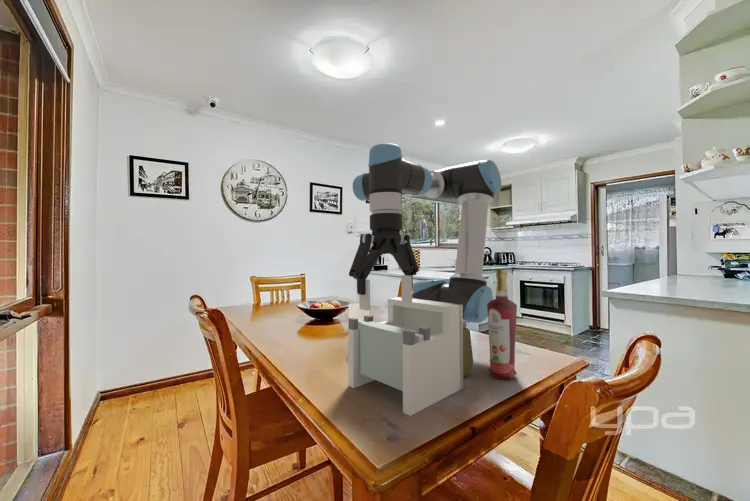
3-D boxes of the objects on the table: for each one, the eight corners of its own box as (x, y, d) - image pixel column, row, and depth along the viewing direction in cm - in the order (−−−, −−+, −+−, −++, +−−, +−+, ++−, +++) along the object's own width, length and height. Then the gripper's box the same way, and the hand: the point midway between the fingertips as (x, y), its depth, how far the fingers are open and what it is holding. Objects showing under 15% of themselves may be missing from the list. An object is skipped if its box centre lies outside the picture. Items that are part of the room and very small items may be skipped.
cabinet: (401, 366, 91) (401, 296, 91) (463, 388, 77) (462, 304, 77) (348, 385, 78) (348, 304, 78) (410, 416, 63) (409, 315, 64)
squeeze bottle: (436, 370, 88) (436, 305, 88) (460, 366, 91) (459, 303, 91) (454, 381, 80) (454, 310, 81) (480, 376, 84) (479, 308, 84)
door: (364, 366, 82) (364, 319, 82) (427, 390, 67) (427, 333, 67) (352, 369, 79) (351, 321, 79) (415, 396, 64) (414, 337, 64)
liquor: (523, 377, 83) (522, 270, 83) (506, 384, 79) (505, 270, 79) (498, 369, 89) (498, 268, 89) (481, 374, 85) (480, 269, 85)
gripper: (409, 218, 85) (410, 297, 85) (331, 211, 68) (333, 310, 68) (432, 215, 79) (433, 300, 79) (354, 207, 62) (355, 315, 62)
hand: (387, 305), depth 73 cm, fingers open, 13 cm apart
